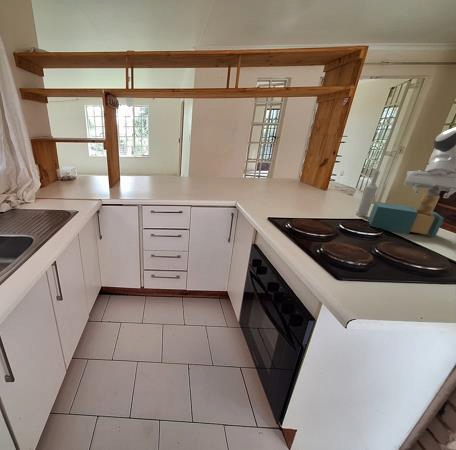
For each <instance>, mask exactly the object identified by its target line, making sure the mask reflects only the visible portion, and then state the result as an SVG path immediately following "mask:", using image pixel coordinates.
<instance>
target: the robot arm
mask: <svg viewBox="0 0 456 450" xmlns="http://www.w3.org/2000/svg"><path fill="white" fill-rule="evenodd" d="M433 148H434V150H433V151H432V153H431V155H430V158H429V159H428V164H427V166H426V168H425V170H417V169H412V170H408V171H406V174H405V177H406V178H405V179H404V181H403V186H404V187H410V188H411V189H412V191H413V194H414V195H419V193H420V191H421V189H426V190H428V188H431V187H432V186H433V185H439V186H440V188H439V189H441V191H442V192H443V191H444V192H445V193H444V194H443V197H442V198H443V199H449V198H450V197H451V195H454V194H455V193H456V126H453V127H450V128H448V129H445V130H444V131H442V132H440V133H439V134H438V135H437V136H435V138H434V141H433Z"/></svg>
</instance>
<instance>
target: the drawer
mask: <svg viewBox="0 0 456 450" xmlns="http://www.w3.org/2000/svg"><path fill="white" fill-rule="evenodd" d="M415 210H416V211H417V209H415ZM444 220H445V217H444V216H442V215H440V214H439V213H437V212H435V211H433V212H432V214H431V216H427V215H420V214H418V215H417V217H416V219H415V221H414V223H413V226H412V228H411V230H410V232H409V233H416V234H421V235H429V236H430V237H432V238H436V236H437V234H438V232H439V230H440V228H441V226H442V224H443V222H444Z"/></svg>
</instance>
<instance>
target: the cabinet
mask: <svg viewBox="0 0 456 450" xmlns="http://www.w3.org/2000/svg"><path fill="white" fill-rule="evenodd" d="M416 210H417V209H415V208H414V207H413V206H409V205H403V204H395V203H388V202H383V201H374V203H373V206H372V207H371V210H370V214H369V216H368V219H367V222H369V223H368V225H369V224H370V225H369V227H370V226H372V227H377V228H381V229H380V230H382V229H383V231H387V232H392V233H393V232H394V233H397V234H398V233H399V234H404V235H409V234H410V233H411V232H410V230H411V228H412V226H413V223H414V221H415V219H416V217H417V215H418V212H417V211H416ZM377 228H376V229H377Z"/></svg>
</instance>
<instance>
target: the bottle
mask: <svg viewBox="0 0 456 450" xmlns="http://www.w3.org/2000/svg"><path fill="white" fill-rule="evenodd" d="M380 173H381V171H380V170H375V171H374V173H373V176H372V179H371V181H370V183H369V184H367V185H365V187H364V190H363V192H362V196H361V199H360V203H359V206H358V208H357V210H356V212H355V215H356V216H358V215H359V216H358V217H362V216H367V217H368V215H369V211H370V208H371V206H372V203H373V201H374V199H375V196H376V194H377V191H378V189H379V187H378V186H377V184H376V183H377V181H378V178H379V175H380Z"/></svg>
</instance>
